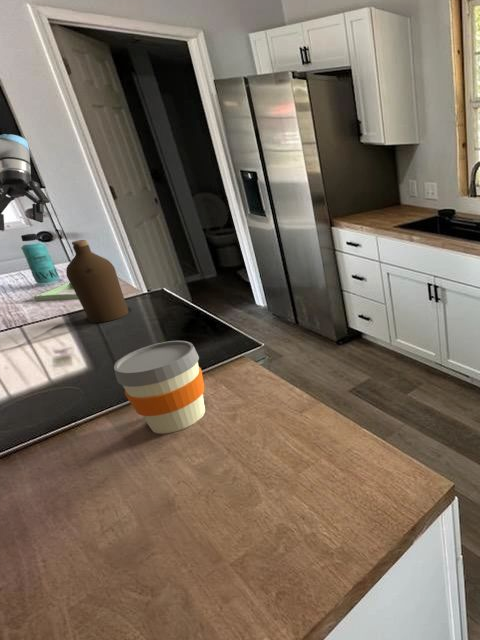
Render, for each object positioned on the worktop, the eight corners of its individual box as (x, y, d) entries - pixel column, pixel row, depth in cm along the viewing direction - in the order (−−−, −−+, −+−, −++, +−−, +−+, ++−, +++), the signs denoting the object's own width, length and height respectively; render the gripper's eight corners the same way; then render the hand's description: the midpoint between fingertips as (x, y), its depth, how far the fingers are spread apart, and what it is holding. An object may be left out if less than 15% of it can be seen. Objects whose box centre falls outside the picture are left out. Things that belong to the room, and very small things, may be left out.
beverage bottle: (33, 286, 158) (9, 236, 150) (54, 280, 164) (33, 231, 156) (45, 288, 156) (22, 237, 149) (66, 282, 162) (45, 232, 155)
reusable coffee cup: (223, 416, 85) (202, 354, 80) (145, 450, 77) (116, 382, 71) (206, 392, 93) (186, 334, 88) (134, 420, 84) (107, 357, 79)
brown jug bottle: (139, 312, 135) (111, 238, 126) (101, 326, 125) (67, 247, 116) (117, 308, 138) (88, 235, 129) (78, 321, 129) (44, 244, 119)
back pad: (36, 302, 143) (33, 296, 142) (71, 288, 156) (68, 282, 155) (80, 300, 144) (77, 294, 144) (110, 286, 157) (107, 280, 156)
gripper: (60, 171, 162) (64, 220, 159) (-8, 185, 160) (-6, 236, 156) (40, 162, 155) (43, 213, 151) (-32, 176, 152) (-30, 229, 149)
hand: (18, 225), depth 154 cm, fingers open, 13 cm apart
